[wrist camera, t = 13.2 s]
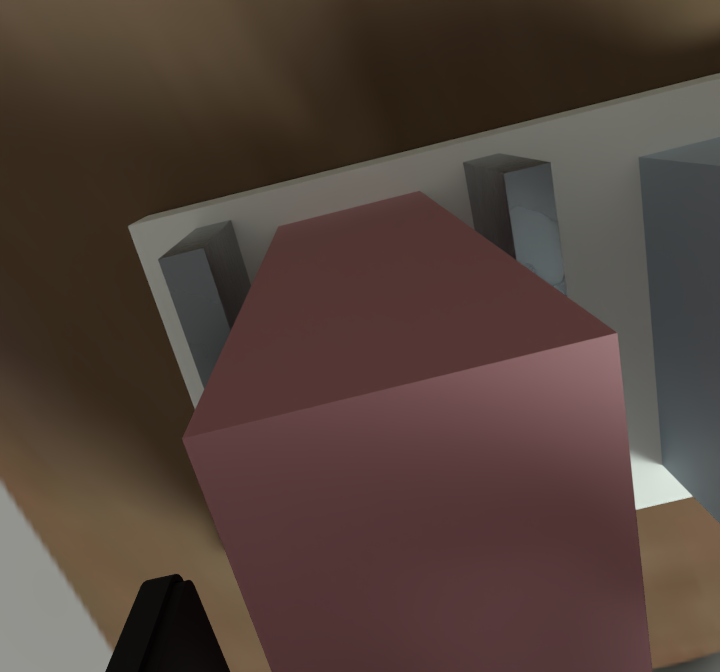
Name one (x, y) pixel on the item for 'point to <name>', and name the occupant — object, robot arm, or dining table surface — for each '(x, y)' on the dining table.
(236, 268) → the bookends
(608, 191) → the shelf board
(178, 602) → the robot arm
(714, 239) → the standing books
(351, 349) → the pink flat block
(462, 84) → the dining table surface
